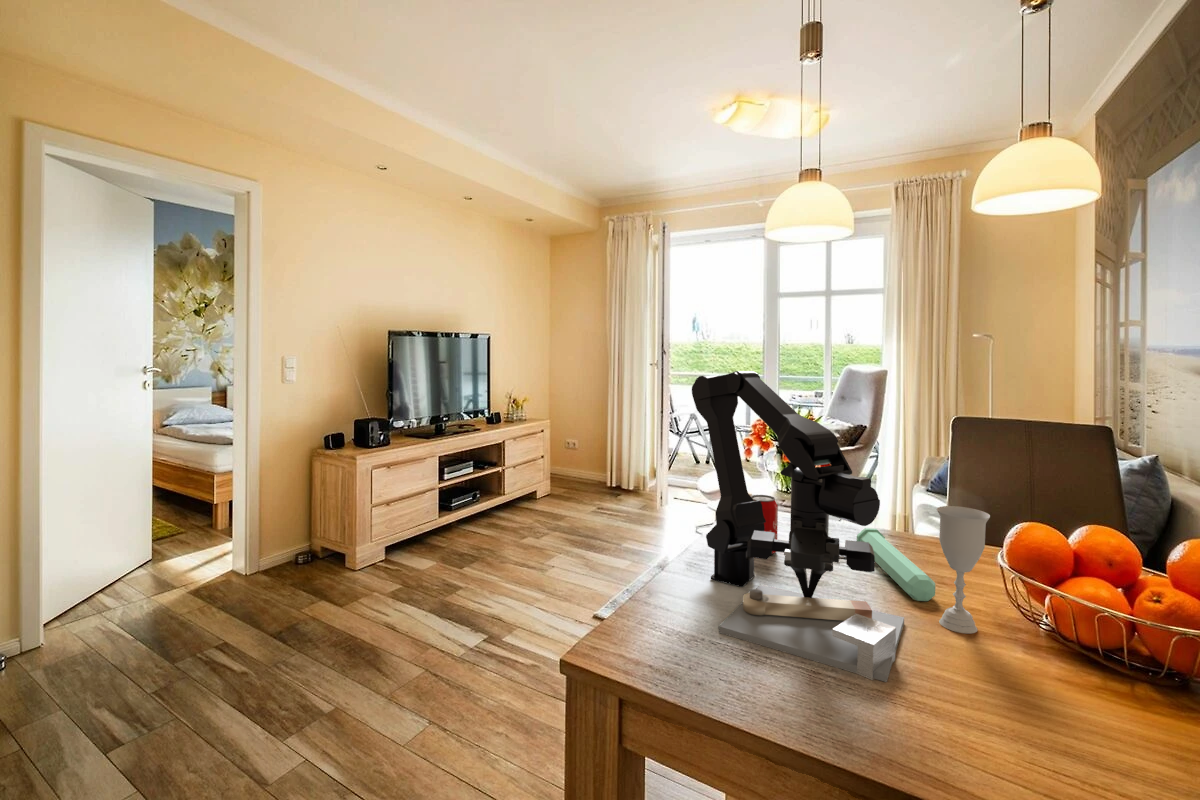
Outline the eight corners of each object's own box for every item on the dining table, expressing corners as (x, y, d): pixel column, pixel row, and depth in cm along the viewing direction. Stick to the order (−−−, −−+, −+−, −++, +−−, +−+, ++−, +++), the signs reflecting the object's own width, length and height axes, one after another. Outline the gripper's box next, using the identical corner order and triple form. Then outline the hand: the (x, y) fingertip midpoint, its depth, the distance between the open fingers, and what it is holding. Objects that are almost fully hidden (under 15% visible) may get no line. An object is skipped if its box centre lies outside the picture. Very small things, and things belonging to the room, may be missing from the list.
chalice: (994, 639, 81) (1000, 520, 80) (943, 634, 82) (948, 518, 81) (971, 616, 88) (976, 507, 87) (925, 612, 90) (929, 505, 88)
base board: (718, 632, 84) (718, 626, 84) (760, 589, 99) (760, 583, 99) (886, 682, 70) (886, 674, 70) (904, 623, 86) (904, 617, 86)
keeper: (831, 662, 75) (832, 628, 75) (855, 645, 80) (856, 613, 79) (872, 680, 71) (873, 644, 71) (895, 660, 75) (896, 627, 75)
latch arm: (743, 614, 87) (744, 595, 87) (742, 603, 91) (742, 585, 91) (872, 624, 83) (873, 605, 83) (865, 612, 87) (865, 594, 87)
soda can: (778, 558, 114) (779, 502, 114) (747, 556, 116) (748, 500, 115) (775, 548, 121) (776, 494, 120) (746, 546, 122) (746, 493, 121)
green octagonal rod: (936, 570, 92) (878, 523, 117) (901, 581, 93) (851, 532, 118) (948, 601, 93) (888, 548, 117) (914, 613, 93) (861, 557, 118)
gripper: (742, 517, 83) (742, 614, 85) (879, 530, 76) (876, 636, 78) (751, 497, 94) (751, 583, 95) (873, 507, 87) (870, 600, 88)
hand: (807, 600), depth 89 cm, fingers closed
